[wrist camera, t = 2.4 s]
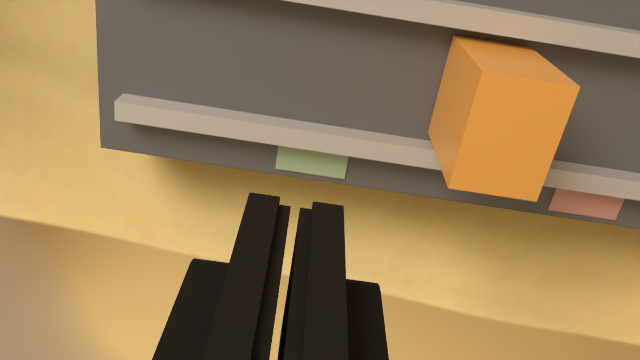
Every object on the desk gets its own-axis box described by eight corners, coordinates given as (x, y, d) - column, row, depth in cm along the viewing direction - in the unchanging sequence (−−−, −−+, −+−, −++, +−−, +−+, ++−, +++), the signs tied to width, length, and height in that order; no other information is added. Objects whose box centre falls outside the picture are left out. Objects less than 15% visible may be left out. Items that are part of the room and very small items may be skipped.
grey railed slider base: (831, 4, 24) (945, 29, 19) (720, 204, 28) (790, 262, 24) (131, -113, 23) (79, -116, 18) (132, 114, 27) (91, 157, 23)
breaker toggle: (531, 47, 21) (580, 87, 16) (499, 143, 23) (536, 201, 18) (453, 34, 21) (482, 70, 16) (427, 132, 23) (448, 188, 18)
